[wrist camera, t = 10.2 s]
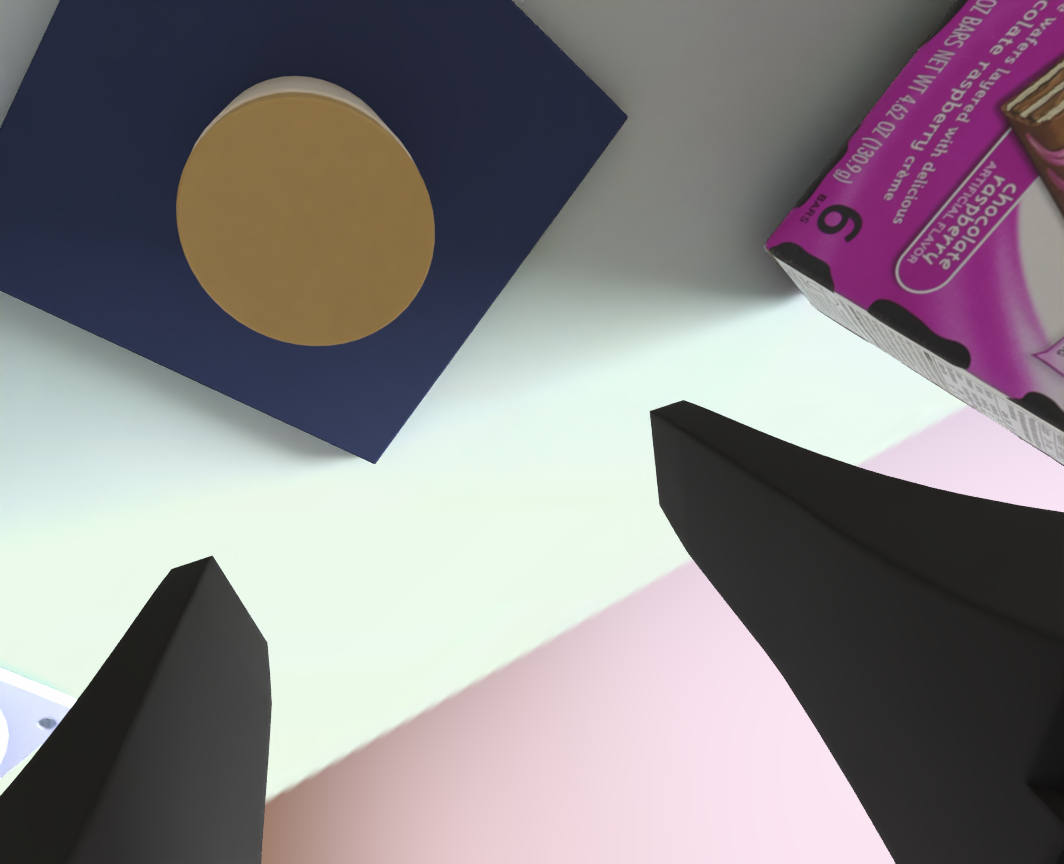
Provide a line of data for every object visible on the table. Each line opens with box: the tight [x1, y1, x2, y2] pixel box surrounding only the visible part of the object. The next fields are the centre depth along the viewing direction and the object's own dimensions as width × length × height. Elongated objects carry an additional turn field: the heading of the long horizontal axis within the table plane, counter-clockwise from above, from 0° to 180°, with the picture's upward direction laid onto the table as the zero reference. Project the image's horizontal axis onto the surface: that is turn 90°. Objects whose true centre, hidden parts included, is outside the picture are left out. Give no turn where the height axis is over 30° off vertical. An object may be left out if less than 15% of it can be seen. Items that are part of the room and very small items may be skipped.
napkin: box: [0, 0, 628, 464], centre depth 16 cm, size 12×11×1 cm
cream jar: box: [176, 76, 435, 346], centre depth 14 cm, size 4×4×5 cm
